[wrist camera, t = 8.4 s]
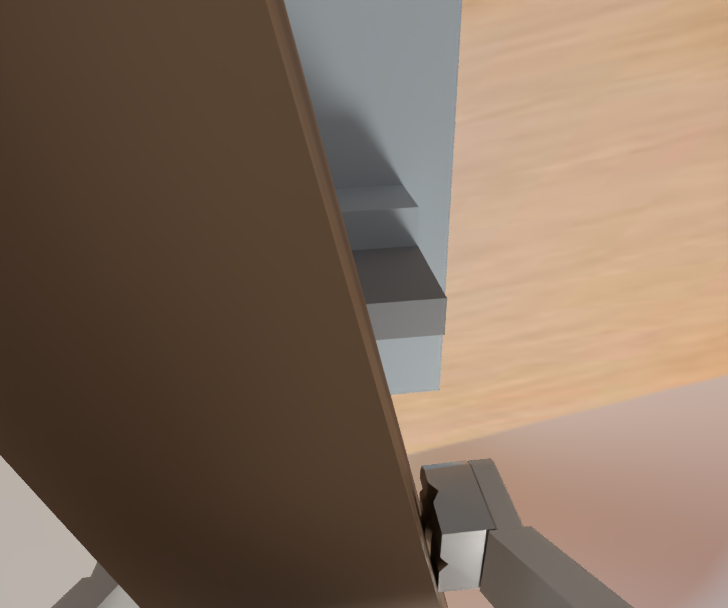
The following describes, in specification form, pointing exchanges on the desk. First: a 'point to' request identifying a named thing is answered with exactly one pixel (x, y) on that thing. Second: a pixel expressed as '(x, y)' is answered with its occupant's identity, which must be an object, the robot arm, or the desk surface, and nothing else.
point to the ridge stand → (389, 159)
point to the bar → (192, 314)
